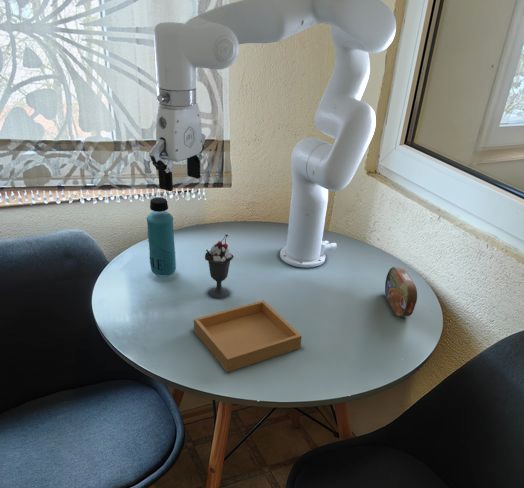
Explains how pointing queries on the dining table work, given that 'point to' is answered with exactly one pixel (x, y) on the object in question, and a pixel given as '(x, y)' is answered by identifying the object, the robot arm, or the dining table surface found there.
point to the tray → (246, 335)
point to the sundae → (219, 267)
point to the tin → (400, 292)
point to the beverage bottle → (161, 238)
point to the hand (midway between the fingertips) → (180, 183)
